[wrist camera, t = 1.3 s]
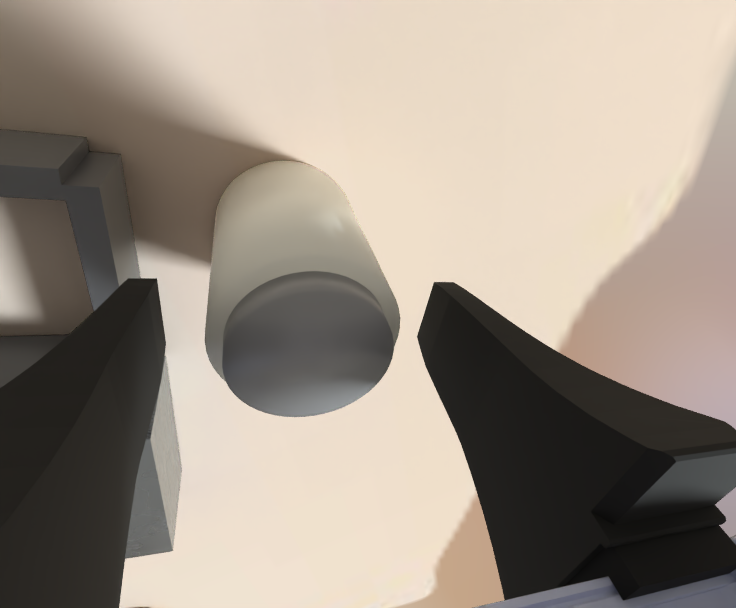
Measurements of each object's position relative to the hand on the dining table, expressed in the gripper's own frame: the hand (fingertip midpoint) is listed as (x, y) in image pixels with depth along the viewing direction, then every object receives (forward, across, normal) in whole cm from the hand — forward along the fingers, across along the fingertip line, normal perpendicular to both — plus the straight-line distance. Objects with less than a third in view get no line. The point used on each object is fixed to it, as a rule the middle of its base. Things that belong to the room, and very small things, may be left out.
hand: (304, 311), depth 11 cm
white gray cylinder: (+5, 0, 0) cm, 5 cm away
